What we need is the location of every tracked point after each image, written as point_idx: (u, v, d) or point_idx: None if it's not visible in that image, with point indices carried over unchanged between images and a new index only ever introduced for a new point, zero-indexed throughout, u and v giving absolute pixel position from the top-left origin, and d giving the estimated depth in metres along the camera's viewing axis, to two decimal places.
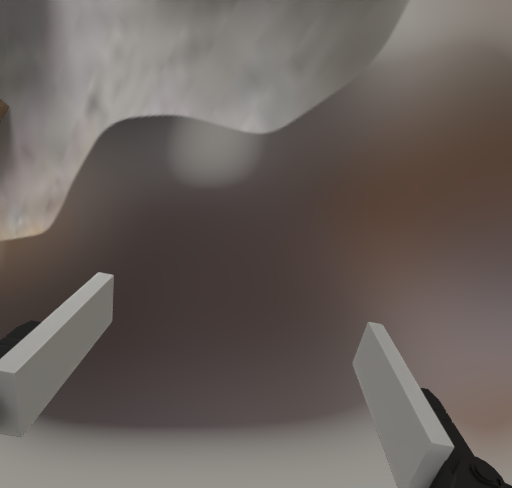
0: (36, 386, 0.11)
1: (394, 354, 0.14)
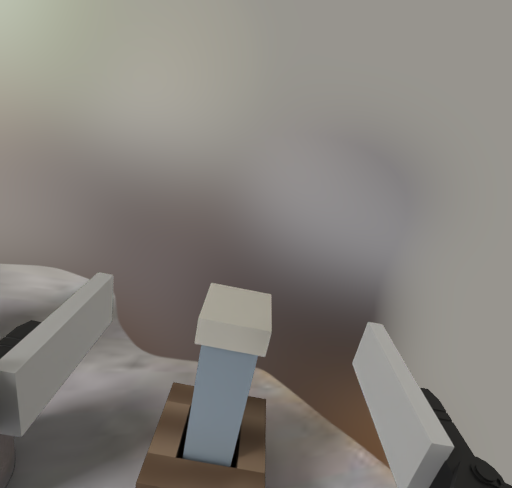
0: (36, 386, 0.11)
1: (394, 354, 0.14)
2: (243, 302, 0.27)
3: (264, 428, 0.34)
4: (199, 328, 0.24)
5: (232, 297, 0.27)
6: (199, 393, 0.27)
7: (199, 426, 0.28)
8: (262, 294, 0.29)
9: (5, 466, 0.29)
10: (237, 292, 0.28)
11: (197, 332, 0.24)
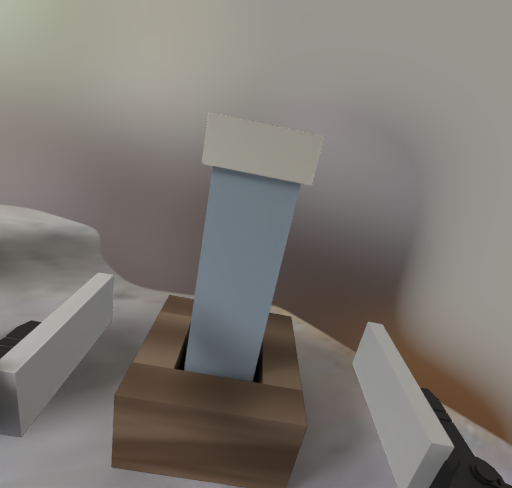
0: (36, 386, 0.11)
1: (394, 354, 0.14)
2: None
3: (293, 344, 0.25)
4: (210, 133, 0.15)
5: None
6: (209, 261, 0.18)
7: (208, 319, 0.19)
8: None
9: None
10: None
11: (206, 141, 0.15)
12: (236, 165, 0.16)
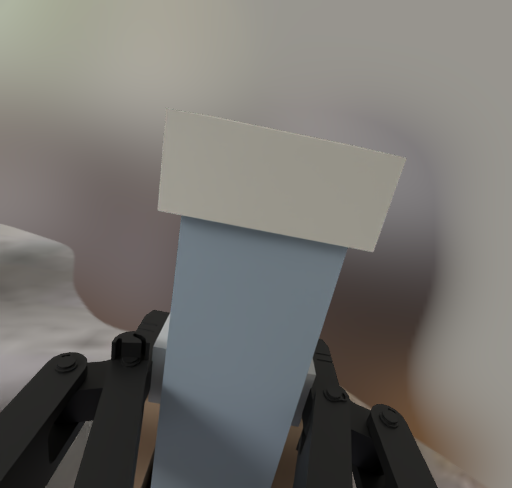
0: None
1: None
2: (292, 133, 0.10)
3: None
4: (172, 151, 0.07)
5: None
6: (181, 371, 0.10)
7: (183, 453, 0.12)
8: (329, 140, 0.12)
9: None
10: None
11: (165, 168, 0.08)
12: (225, 214, 0.08)
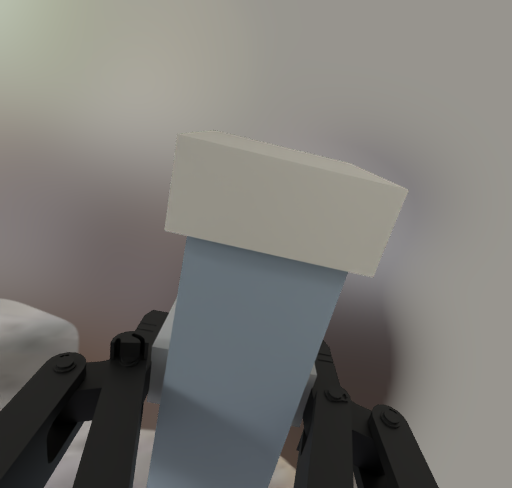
0: None
1: None
2: (297, 154, 0.10)
3: None
4: (181, 175, 0.08)
5: (268, 145, 0.11)
6: (180, 384, 0.10)
7: (178, 463, 0.12)
8: (332, 159, 0.12)
9: None
10: (276, 146, 0.12)
11: (173, 190, 0.08)
12: (231, 236, 0.08)
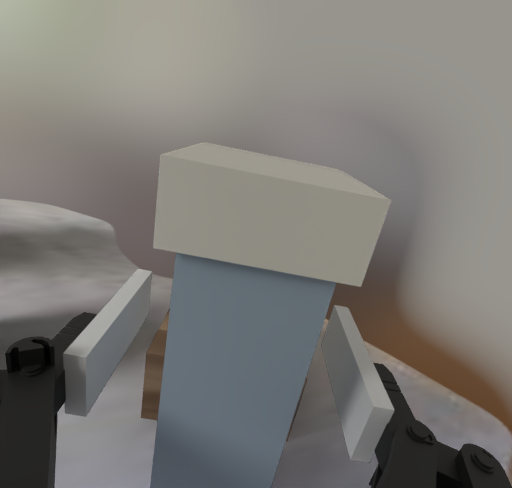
0: (97, 371, 0.12)
1: (354, 333, 0.15)
2: (285, 164, 0.11)
3: None
4: (166, 194, 0.08)
5: (256, 157, 0.11)
6: (177, 395, 0.11)
7: (179, 472, 0.12)
8: (322, 166, 0.12)
9: None
10: (264, 156, 0.12)
11: (160, 209, 0.08)
12: (218, 251, 0.08)
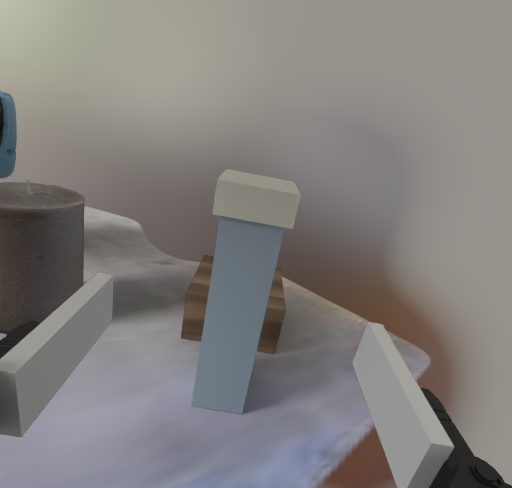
0: (36, 386, 0.11)
1: (394, 354, 0.14)
2: (264, 180, 0.24)
3: (281, 280, 0.41)
4: (218, 193, 0.21)
5: (252, 177, 0.24)
6: (217, 283, 0.24)
7: (216, 326, 0.25)
8: (284, 180, 0.26)
9: None
10: (256, 176, 0.25)
11: (216, 199, 0.21)
12: (237, 215, 0.22)
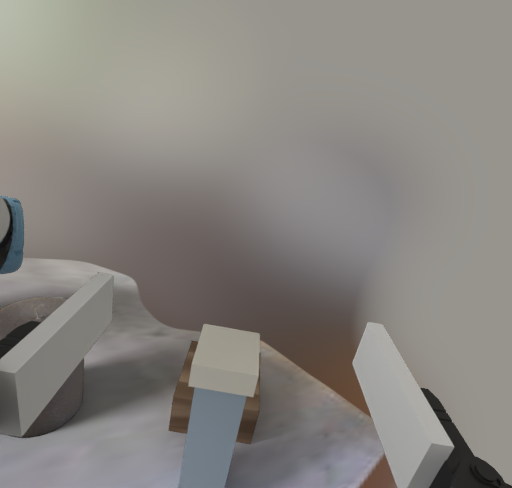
0: (36, 386, 0.11)
1: (394, 354, 0.14)
2: (233, 344, 0.29)
3: (259, 369, 0.47)
4: (193, 372, 0.26)
5: (223, 339, 0.29)
6: (193, 428, 0.29)
7: (194, 457, 0.30)
8: (251, 334, 0.31)
9: (80, 391, 0.42)
10: (227, 333, 0.30)
11: (190, 376, 0.26)
12: (208, 387, 0.27)
